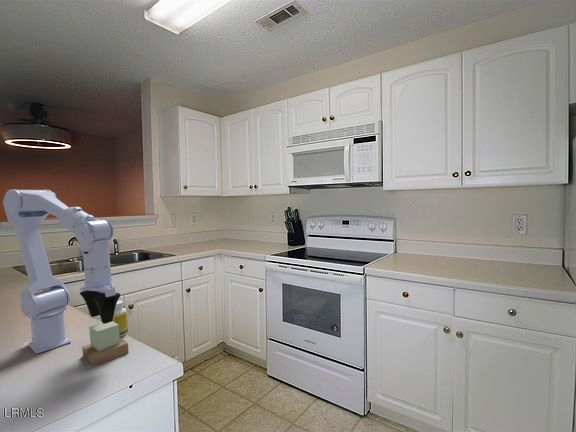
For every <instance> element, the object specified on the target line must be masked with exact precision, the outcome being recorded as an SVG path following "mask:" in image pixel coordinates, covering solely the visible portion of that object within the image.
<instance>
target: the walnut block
mask: <svg viewBox="0 0 576 432" xmlns="http://www.w3.org/2000/svg"><path fill="white" fill-rule="evenodd" d="M119 338H120V343H119V344H116V345H114V346H111V347H109V348H106V349H103V350H101V351H98V350H96V349H95V348H93V347H92V346H91V343H89V344H86V345H83V346H82V347H81V349H82V357H83V358H84V359H85V360H86V361H87V362H89V363H90V364H91V365H92V366H93V367H95V366H99V365H101V364H103V363H106V362H108V361H111V360H114V359H116V358H118V357H121V356H123V355H126V354H128V353H130V352H129V343H128V342H127V341H126V340H124V339H122V337H119Z"/></svg>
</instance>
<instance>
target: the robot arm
mask: <svg viewBox="0 0 576 432" xmlns="http://www.w3.org/2000/svg"><path fill="white" fill-rule="evenodd" d="M2 205H3V208H4V212H5V214H6V219H7V221H8V222H9V223H11V224H13V228H14V231H15V235H16V239H17V242H18V246H19V248H20V249H19V250H20V253H21V256H22V259H23V263H24V266H25V267H24V268H25V271H26V273H27V277H28V282H29V283H28V284H27V285H26V286H25V287H24V288H23V289H22V290H21V291H20V293H19V296H20V309H21V313H22V314H23V315H24V317H26V318H28V319H30V332H31V333H30V334H31V341H29V342H28V343H27V345H28V346H29V348H30V349H31V350H32V351H33V352H34V353H35V354H40V353H43V352H47V351H48V350H52V349H54V348H55V349H56V348H58V347H62V346H64V345H67V344H71V343H72V340H71V339H70V338H69V337H67V335H66V323H65V314H64V312H65V311H66V310H67V306H68V305H69V304H70V302H71V293H70V291H69V289H67V287H66V285H65V282H64V280H62V279H60V278H58V277H57V278H56V277H54V276H53V273H52V270H51V266H50V265H51V264H50V262H49V259H48V255H47V252H46V248H45V244H44V241H43V238H42V235H41V232H40V227H39V224H40V222H42V221H43V220H44V221H45V220H46V218H47V217H48V216H49V214H50V215H52V216H54V217H56V218H57V219H58V222H59V224H60V226H62V227H64V228H66V229H67V230H69V232H72V233H73V234H74V236H75V239H76V241H77V242H78V244H79V249H80V251H81V252H82V258H83V259H82V261H83V272H84V281H83V283H84V286H81V287H79V290H80V292H79V295H80V296H81V297H82V299H83V300H84V302H85V304H86V306H87V309H88V313H89V316H90V317H91V318H96V317H99V316H100V319H101V323H103V324H106V323H109V322H112V321H113V317H114V311H115V307H116V304H117V301H119V299H120V298H121V293H119V292H116V286H115V287H114V283H113V280H112V272H111V270H112V269H111V257H110V255H111V254H110V244H109V243H110V242H109V241H110V240H111V239H112V237H113V235H114V228H113V225H112V223H111V222H110V221H109V220H108V219H107V218H100V219H99V218H98V219H97V218H95V216H94V215H92V214H88V213H87V212H86V211H84V210H83V208H82V207H80V206H71V207H69V206H68V205H67V204H65V203H63V202H62V201H61V200H60V199H58V198H57V195H56V193H55V192H54V191H52V190H50V189H12V188H11V189H9V190H7V192H5V194H4V197H3V201H2Z"/></svg>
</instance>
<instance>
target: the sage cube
mask: <svg viewBox="0 0 576 432" xmlns="http://www.w3.org/2000/svg"><path fill="white" fill-rule="evenodd" d="M88 328H89V329H88V330H89V339H90V341H89V342H90V343H89V344H91V346H92V347H93V348H95V349H96V350H98V351H101V350H103V349H106V348H109V347H111V346H114V345H116V344H119V343H120V338H121V337H119V324H117V323H115V322H113V321H112V322H109V323H106V324H103V323H102V322H100V323H97V324H94V325H91V326H89V327H88Z"/></svg>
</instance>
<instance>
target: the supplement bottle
mask: <svg viewBox="0 0 576 432" xmlns="http://www.w3.org/2000/svg"><path fill="white" fill-rule="evenodd" d="M113 322H115V323H117V324H119V338H122V337H124V336H126V335H127V334H128V332H129V327H128V326H129V325H128V324H129V323H128V314H127V309H126V308H125V307H124V301H123V300H118V301H117V304H116V307H115V311H114V317H113Z"/></svg>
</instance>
